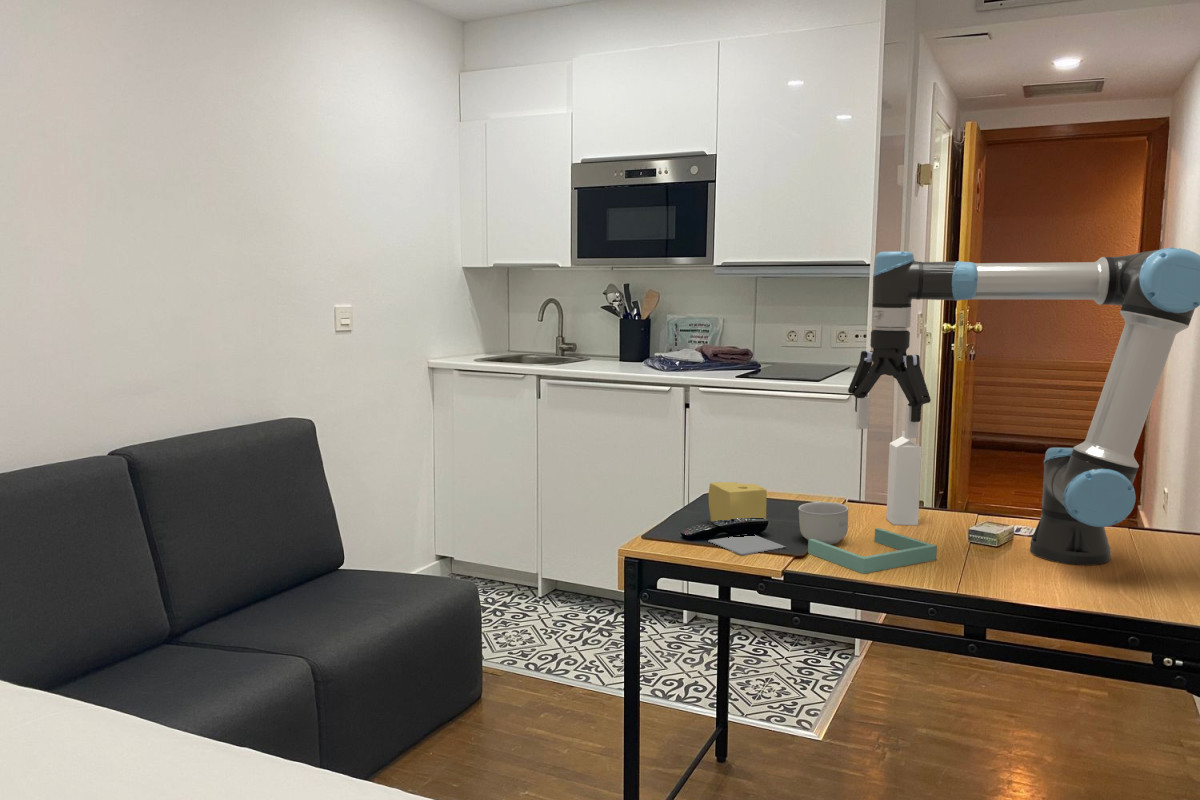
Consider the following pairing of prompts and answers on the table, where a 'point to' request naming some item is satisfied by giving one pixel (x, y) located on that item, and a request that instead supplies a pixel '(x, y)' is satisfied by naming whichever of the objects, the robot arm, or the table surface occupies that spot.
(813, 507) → the teacup
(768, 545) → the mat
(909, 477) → the milk
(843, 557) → the cup bay
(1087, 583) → the table surface
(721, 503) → the cheese
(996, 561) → the table surface
